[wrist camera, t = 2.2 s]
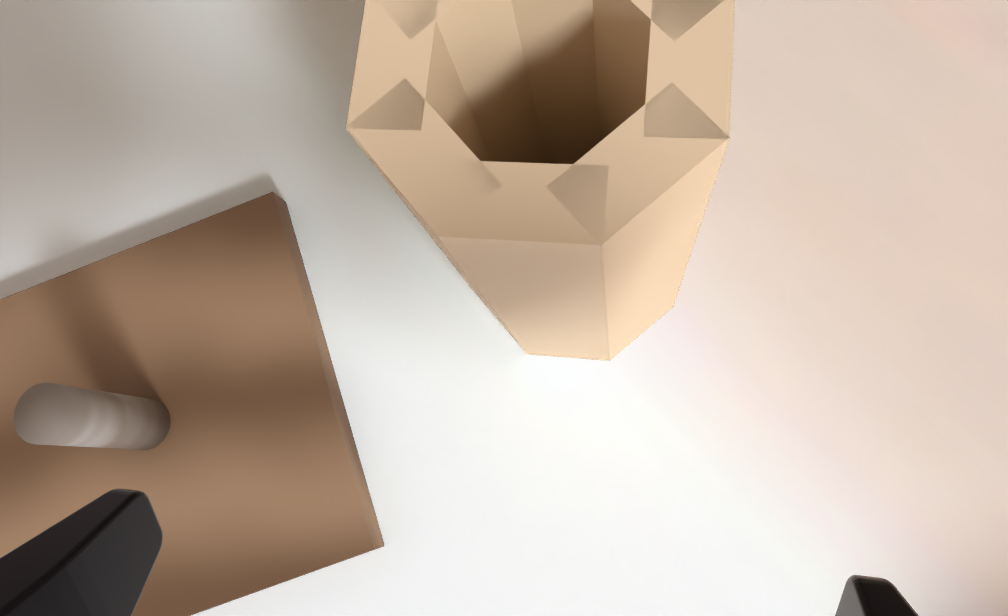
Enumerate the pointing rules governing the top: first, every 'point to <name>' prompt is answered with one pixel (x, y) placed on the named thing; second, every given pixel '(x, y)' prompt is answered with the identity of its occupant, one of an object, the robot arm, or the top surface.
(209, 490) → the roll stand
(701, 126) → the paper roll
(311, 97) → the top surface
